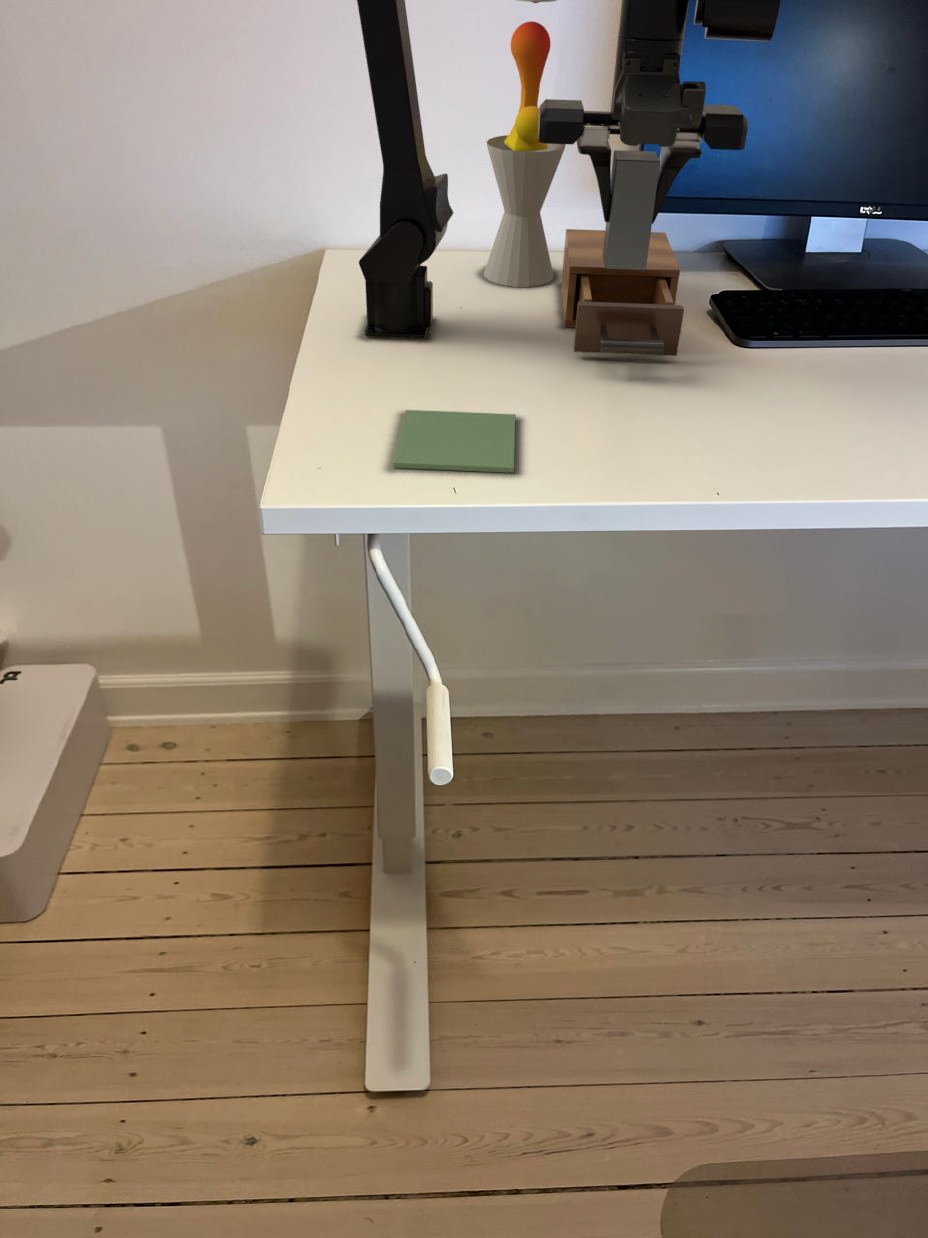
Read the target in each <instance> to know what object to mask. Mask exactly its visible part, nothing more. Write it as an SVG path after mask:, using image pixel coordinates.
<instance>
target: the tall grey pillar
mask: <svg viewBox="0 0 928 1238" xmlns="http://www.w3.org/2000/svg"><path fill="white" fill-rule="evenodd" d="M611 164H612V165H611V208H610V216H609V222H605V227H604V228H605V229H604V230H605V238H604V247H603V261H604V265H605V269H615V270H642V271H645V270H646V264H647V256H648V249H649V241H650V234H651V232H652V226H653V224H652V219H653V212H654V205H655V197H656V190H657V183H658V175H659V168H660V160H659V156H658V153H657V152H656V151H647V150H618V149H617V150H616V149H615V150H613V155H612V162H611Z"/></svg>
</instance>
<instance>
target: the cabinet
mask: <svg viewBox="0 0 928 1238" xmlns="http://www.w3.org/2000/svg"><path fill="white" fill-rule="evenodd" d="M604 238H605V229H604V230H602V229H577V228H576V229H575V228H574V229H573V228H566V229H565V238H564V248H563V249H564V250H563V262H562V276H561V298H562V308H563V321H564V322H563V323H564V327H565V328H576V317H577V295H578V284H579V274H598V275H625V276H653V277H665V279H666V282H667V285H668V288H669V291H670V294H671V297H672V299H673V302H674V303H673V305H676V301H677V300H676V299H677V292H678V288H679V287H678V286H679V279H680V274H681V273H680V272H681V270H680V267H679V264H678V262H677V259H676V257H675V254H674V251H673V248H672V246H671V244H670V241H669V239H668V235H667V233H666V232H661V231H660V232H659V231H658V232H657V231H651V234H650V241H649V249H648V256H647V264H646V270H645V271H642V270H615V269H605V265H604V261H603V247H604Z"/></svg>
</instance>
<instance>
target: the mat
mask: <svg viewBox="0 0 928 1238" xmlns="http://www.w3.org/2000/svg"><path fill="white" fill-rule="evenodd" d="M515 444H516V414H514V413H513V414H511V413H492V412H491V413H490V412H468V411H465V412H464V411H446V410H445V411H443V410H442V411H441V410H419V409H418V410H417V409H416V410H415V409H405V410H404V415H403V420H402V424H401V427H400V433H399V436H398V442H397V446H396V451H395V455H394V459H393V468H394V469H395V468H396V469H416V470H417V469H418V470H439V471H440V470H441V471H462V472H463V471H464V472H486V473H506V474H507V473H508V474H510V473H511V474H513V473H514V472H515V452H516V451H515V449H516V447H515Z"/></svg>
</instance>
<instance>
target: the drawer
mask: <svg viewBox="0 0 928 1238" xmlns="http://www.w3.org/2000/svg"><path fill="white" fill-rule="evenodd" d="M673 303H674V302H673V299H672V297H671V294H670V291H669V288H668V285H667V282H666V279H665V277H653V276H625V275H598V274H579V284H578V295H577V317H576V327H574V328H575V330H574V339H573V352H574V353H596V354H597V353H598V354H617V355H646V356H647V355H648V356H669V357H670V356H671V357H673V356H674V357H677V356H678V351H679V350H678V349H679V343H680V337H681V331H682V326H683V318H684V313H685V308H684V306H683V305H682V304H675V305H673Z"/></svg>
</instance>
